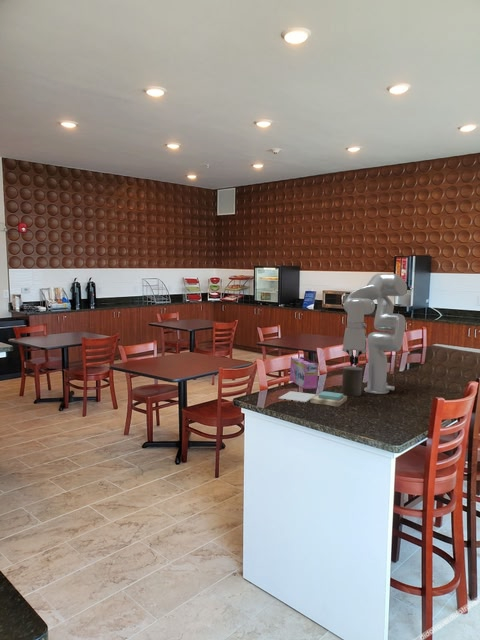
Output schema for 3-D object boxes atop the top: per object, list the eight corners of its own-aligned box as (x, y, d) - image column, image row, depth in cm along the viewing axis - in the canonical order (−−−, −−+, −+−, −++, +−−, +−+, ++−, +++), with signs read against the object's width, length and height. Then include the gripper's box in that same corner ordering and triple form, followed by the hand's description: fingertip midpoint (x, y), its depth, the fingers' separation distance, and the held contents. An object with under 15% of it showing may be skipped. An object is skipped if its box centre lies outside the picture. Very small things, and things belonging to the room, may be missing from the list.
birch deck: (346, 399, 237) (347, 395, 237) (339, 406, 225) (339, 402, 225) (319, 396, 244) (319, 392, 244) (310, 402, 231) (310, 398, 231)
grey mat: (316, 395, 246) (316, 394, 246) (305, 402, 231) (305, 401, 231) (290, 392, 252) (290, 391, 252) (278, 398, 238) (278, 397, 238)
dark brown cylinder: (347, 397, 243) (348, 367, 242) (338, 392, 253) (339, 364, 251) (364, 396, 246) (366, 367, 245) (355, 391, 255) (356, 363, 254)
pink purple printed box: (288, 379, 283) (289, 356, 281) (301, 379, 285) (301, 356, 283) (304, 389, 260) (304, 364, 258) (317, 388, 262) (318, 363, 260)
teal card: (343, 397, 235) (343, 393, 235) (338, 400, 228) (339, 397, 228) (323, 394, 240) (323, 391, 239) (318, 397, 232) (318, 394, 232)
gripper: (373, 326, 226) (372, 365, 227) (341, 324, 233) (340, 362, 234) (370, 327, 219) (368, 367, 221) (337, 325, 226) (335, 364, 228)
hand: (353, 364), depth 227 cm, fingers closed
